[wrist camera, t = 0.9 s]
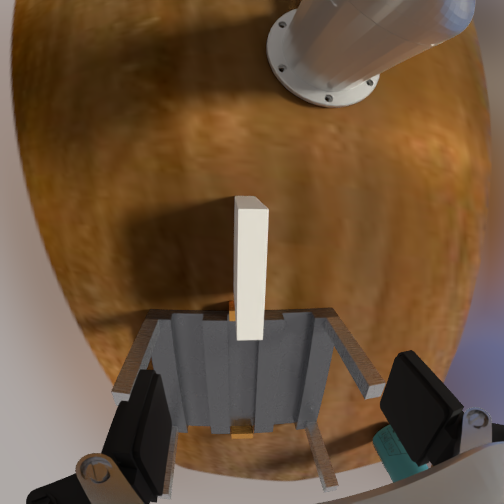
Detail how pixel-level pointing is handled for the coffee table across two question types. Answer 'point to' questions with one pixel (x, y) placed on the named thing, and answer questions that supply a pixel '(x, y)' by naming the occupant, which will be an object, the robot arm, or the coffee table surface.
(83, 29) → the coffee table surface
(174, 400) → the rack
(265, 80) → the coffee table surface
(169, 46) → the coffee table surface
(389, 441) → the beverage bottle
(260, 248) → the block
